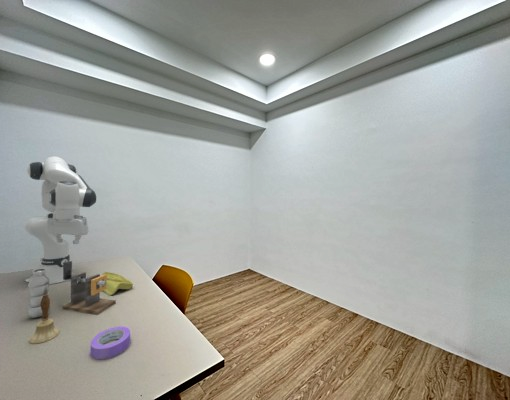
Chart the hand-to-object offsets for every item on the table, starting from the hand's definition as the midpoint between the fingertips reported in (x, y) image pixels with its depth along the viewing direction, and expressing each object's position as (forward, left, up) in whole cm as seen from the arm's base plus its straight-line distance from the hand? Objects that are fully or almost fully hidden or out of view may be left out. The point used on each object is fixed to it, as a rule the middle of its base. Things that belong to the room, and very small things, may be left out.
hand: (67, 243), depth 103 cm
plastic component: (+8, +20, -30) cm, 37 cm away
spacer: (+18, 0, -18) cm, 26 cm away
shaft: (+10, 0, -18) cm, 21 cm away
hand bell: (+16, -21, -30) cm, 40 cm away
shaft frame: (+13, 0, -29) cm, 32 cm away
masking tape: (+44, -20, -30) cm, 57 cm away
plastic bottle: (-1, -11, -29) cm, 31 cm away
